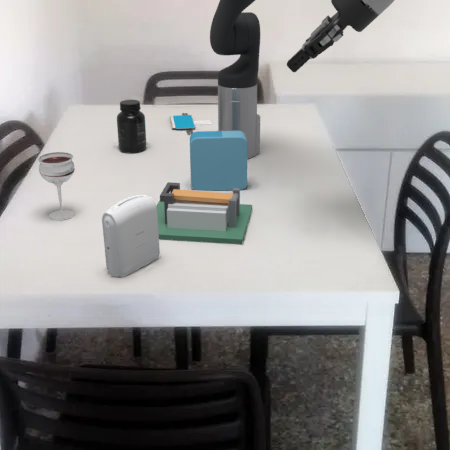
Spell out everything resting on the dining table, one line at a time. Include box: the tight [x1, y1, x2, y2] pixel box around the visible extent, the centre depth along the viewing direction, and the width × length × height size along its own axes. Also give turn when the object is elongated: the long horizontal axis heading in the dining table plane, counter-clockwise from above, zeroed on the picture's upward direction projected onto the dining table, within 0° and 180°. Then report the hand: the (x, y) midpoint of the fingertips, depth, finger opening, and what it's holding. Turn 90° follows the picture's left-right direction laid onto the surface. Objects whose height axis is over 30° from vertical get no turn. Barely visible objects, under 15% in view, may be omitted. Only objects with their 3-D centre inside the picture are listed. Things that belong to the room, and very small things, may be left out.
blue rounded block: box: [189, 130, 248, 192], centre depth 155 cm, size 12×4×12 cm, turn 93°
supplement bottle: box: [116, 99, 147, 154], centre depth 178 cm, size 7×7×12 cm
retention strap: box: [172, 189, 239, 203], centre depth 137 cm, size 1×3×13 cm
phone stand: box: [168, 112, 213, 135], centre depth 200 cm, size 20×12×2 cm, turn 7°
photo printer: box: [101, 194, 161, 278], centre depth 122 cm, size 10×4×12 cm, turn 140°
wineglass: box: [37, 151, 76, 221], centre depth 141 cm, size 7×7×12 cm
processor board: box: [156, 182, 253, 245], centre depth 139 cm, size 19×16×7 cm
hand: (290, 68), depth 128 cm, fingers closed
